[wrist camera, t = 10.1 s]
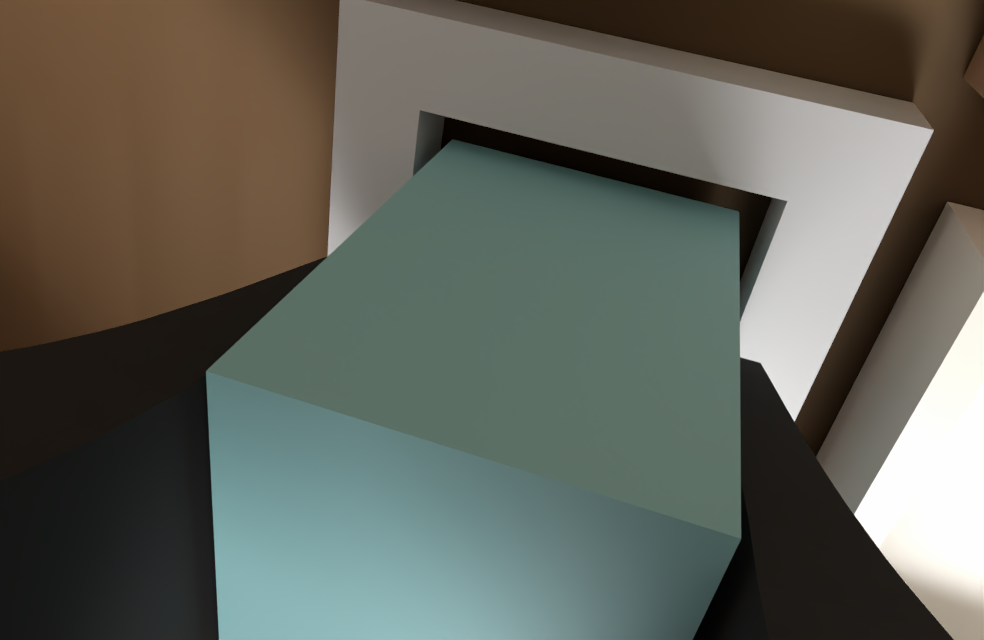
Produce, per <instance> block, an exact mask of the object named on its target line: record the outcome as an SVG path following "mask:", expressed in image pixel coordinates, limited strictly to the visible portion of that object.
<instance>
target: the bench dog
mask: <svg viewBox="0 0 984 640" xmlns="http://www.w3.org/2000/svg"><path fill="white" fill-rule="evenodd" d="M963 79H964V80H965V81H966V82H967V83H968V84H969V85H970V86H971V87H973V88H974V89H975V90H976V91H977V92H978V93H979V94H980V95H981V96H982V97H983V98H984V35H983V37H982V39H981V41H980V43H979V45H978V48H977V50H976V52H975V54H974V56H973V58H972V60H971V62H970V64H969V66H968V68H967V70H966V73H965V75H964V77H963Z"/></svg>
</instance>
